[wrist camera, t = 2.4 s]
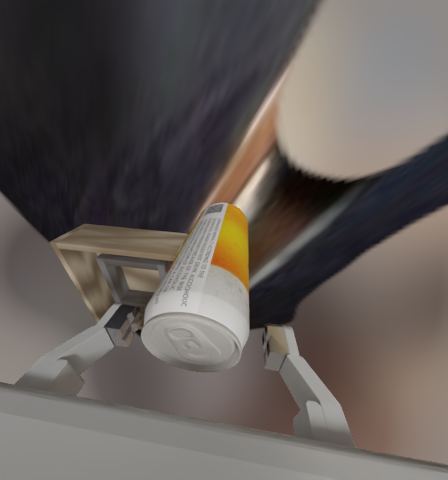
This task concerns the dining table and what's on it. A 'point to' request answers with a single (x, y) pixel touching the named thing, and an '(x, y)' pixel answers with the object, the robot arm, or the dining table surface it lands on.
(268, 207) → the dining table surface
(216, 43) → the dining table surface
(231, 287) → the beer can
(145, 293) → the crate
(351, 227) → the dining table surface
